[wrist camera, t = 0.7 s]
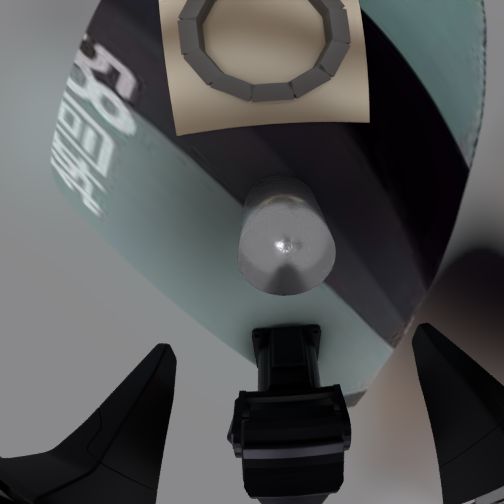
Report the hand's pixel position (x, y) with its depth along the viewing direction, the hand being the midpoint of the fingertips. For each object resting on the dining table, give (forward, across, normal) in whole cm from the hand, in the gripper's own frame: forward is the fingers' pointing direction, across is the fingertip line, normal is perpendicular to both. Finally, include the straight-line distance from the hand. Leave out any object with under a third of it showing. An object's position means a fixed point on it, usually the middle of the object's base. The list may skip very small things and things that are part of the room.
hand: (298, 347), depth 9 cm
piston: (+12, 0, 0) cm, 12 cm away
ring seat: (+12, 0, -12) cm, 17 cm away
